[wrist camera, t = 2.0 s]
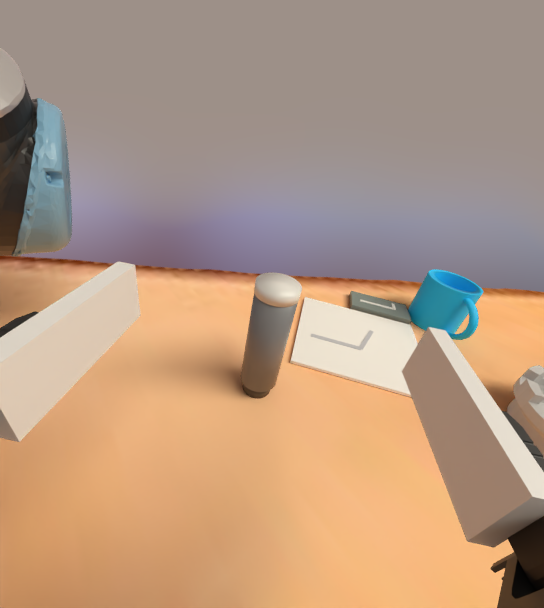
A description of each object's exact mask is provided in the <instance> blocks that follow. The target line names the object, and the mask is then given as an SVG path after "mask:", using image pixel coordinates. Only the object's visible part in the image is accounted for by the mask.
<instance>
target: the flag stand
mask: <svg viewBox="0 0 544 608" xmlns="http://www.w3.org/2000/svg"><path fill="white" fill-rule="evenodd" d="M513 392H514V395H515V399H514V400H513V401H512V402H511V403H510V404H509V405H508V407H507V413H508V414H509V415H510V416H511V417H512V418H514V419H515V420H516V421H517V422H518V423H519V424H520V425H521V426H522V427H523V428H524V430H525V431H526V432H527V434H528V435H529V437H530V438H531V439H532V441H533V442H534V445H535V446H537V448H538V449H539V450H540V452H541V453H542V454H543V458H544V368H543V367H542V366H540V365H539V366H533V367H531V368H529V369H528V370H527V371H526V372H525V373H524V374H523V375H522V376H521V377H520V378H519V379H518V380H517V381H516V383H515V384H514V388H513Z"/></svg>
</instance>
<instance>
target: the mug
mask: <svg viewBox="0 0 544 608" xmlns="http://www.w3.org/2000/svg"><path fill="white" fill-rule="evenodd" d="M482 293H483V290H482V288H480V287H479V286H478V285H477V284H475V283H474V282H472V281H471V280H469V279H467V278H465V277H462V276H460V275H457V274H455V273H451V272H448V271H443V270H436V269H435V270H430V271H429V272H428V274H427V276H426V278H425V280H424V281H423V283H422V285H421V287H420V289H419V290H418V292H417V294H416V296H415V298H414V300H413V301H412V303H411V305H410V307H409V309H408V312H409V315H410V318H411V321H412V322H413V323H414V324H416V325H417V326H418V327H420V328H422V329H424V330H425V331H426V330H427V328H428V327H431V328H436V329H441V330H446V332H447V333H448V335H449V336H450V337H451V339H456V340H463V339H466V338H468V337H470V336H471V335H472V334H473V333H474V332H475V330H476V328H477V326H478V319H479V317H478V311H477V308H476V306H475V304H476V302H477V301H478V299H479V298H480V296H481V295H482ZM468 314H469V316H470V317H469V324H468V326H467V328H466V330H465V331H464V332H462V333H460V334H454V333H455V332H456V331H457V329H458V328H459V326H460V325H461V323H462V322H463V321H464V319H465V318H466V316H467V315H468Z"/></svg>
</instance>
